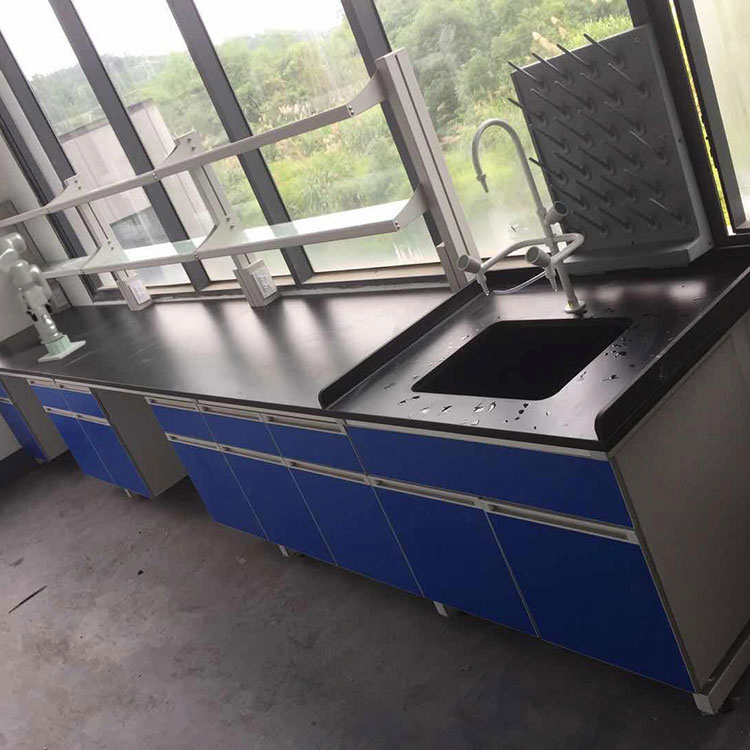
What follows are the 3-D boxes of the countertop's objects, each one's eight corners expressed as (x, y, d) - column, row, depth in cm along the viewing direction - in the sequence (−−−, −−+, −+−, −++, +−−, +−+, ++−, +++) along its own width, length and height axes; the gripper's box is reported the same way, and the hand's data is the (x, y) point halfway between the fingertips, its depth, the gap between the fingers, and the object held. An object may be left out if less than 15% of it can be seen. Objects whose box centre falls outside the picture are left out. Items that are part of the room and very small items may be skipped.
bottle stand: (39, 362, 414) (32, 349, 411) (65, 346, 427) (58, 334, 425) (60, 359, 404) (52, 346, 401) (86, 343, 417) (79, 330, 415)
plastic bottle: (54, 354, 412) (36, 319, 404) (56, 350, 418) (37, 316, 411) (66, 349, 412) (48, 314, 405) (68, 345, 419) (50, 311, 411)
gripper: (18, 292, 394) (34, 323, 400) (45, 278, 406) (60, 308, 413) (9, 294, 398) (26, 325, 404) (36, 280, 411) (52, 310, 417)
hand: (43, 317), depth 409 cm, fingers open, 9 cm apart
